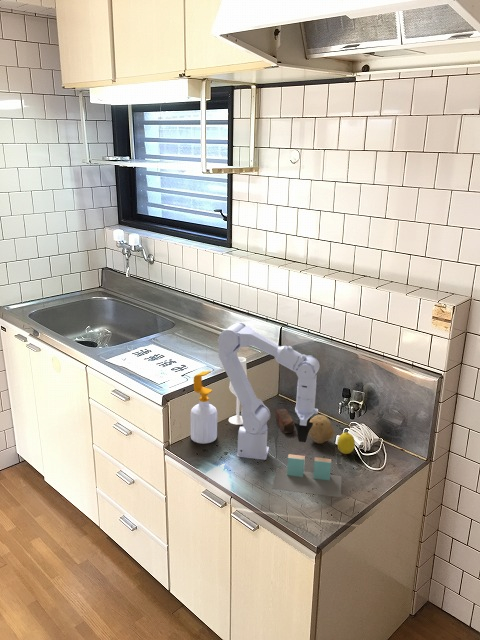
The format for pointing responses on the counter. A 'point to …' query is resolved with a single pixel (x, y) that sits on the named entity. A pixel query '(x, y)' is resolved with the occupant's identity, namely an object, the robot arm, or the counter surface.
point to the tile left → (295, 465)
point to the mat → (307, 483)
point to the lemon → (346, 443)
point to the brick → (284, 421)
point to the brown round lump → (321, 429)
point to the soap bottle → (203, 414)
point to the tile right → (322, 468)
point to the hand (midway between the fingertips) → (303, 435)
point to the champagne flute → (237, 418)
